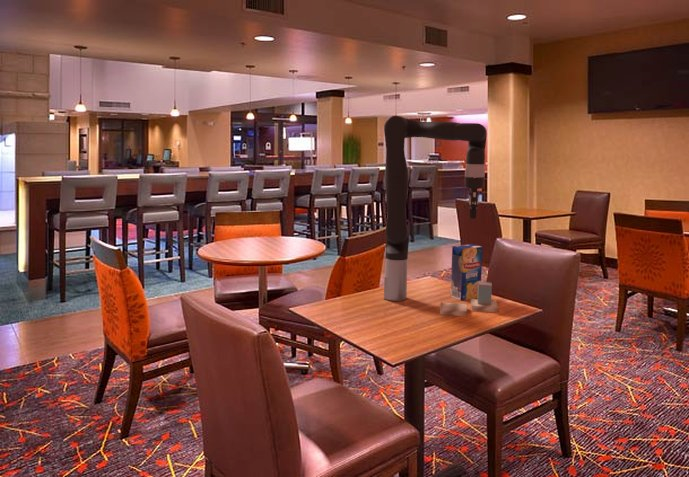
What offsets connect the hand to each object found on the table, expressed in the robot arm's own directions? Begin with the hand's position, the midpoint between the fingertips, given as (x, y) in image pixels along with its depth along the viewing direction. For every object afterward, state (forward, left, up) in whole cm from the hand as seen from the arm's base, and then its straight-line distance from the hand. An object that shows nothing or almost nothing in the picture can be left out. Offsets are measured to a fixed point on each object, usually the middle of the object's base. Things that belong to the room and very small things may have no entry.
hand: (472, 217), depth 216 cm
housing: (+6, -2, -34) cm, 35 cm away
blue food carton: (-1, +13, -36) cm, 39 cm away
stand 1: (-6, -10, -36) cm, 38 cm away
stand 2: (+6, -2, -36) cm, 37 cm away
